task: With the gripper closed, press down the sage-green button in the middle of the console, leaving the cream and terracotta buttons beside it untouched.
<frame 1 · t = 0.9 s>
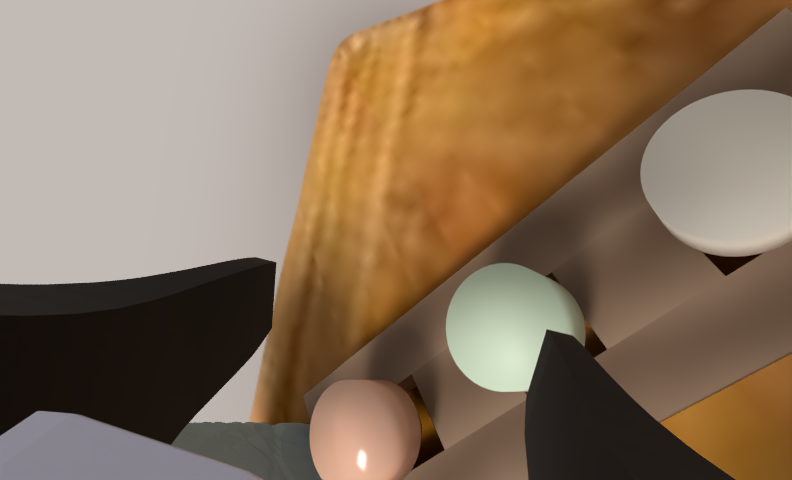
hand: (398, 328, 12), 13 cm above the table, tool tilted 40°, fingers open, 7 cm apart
console: (556, 337, 22), on the table
button cream: (732, 185, 16), point 4 cm above the table, slide at 0.0 cm
button terracotta: (376, 431, 22), point 4 cm above the table, slide at 0.0 cm
button sage: (523, 330, 19), point 4 cm above the table, slide at 0.0 cm
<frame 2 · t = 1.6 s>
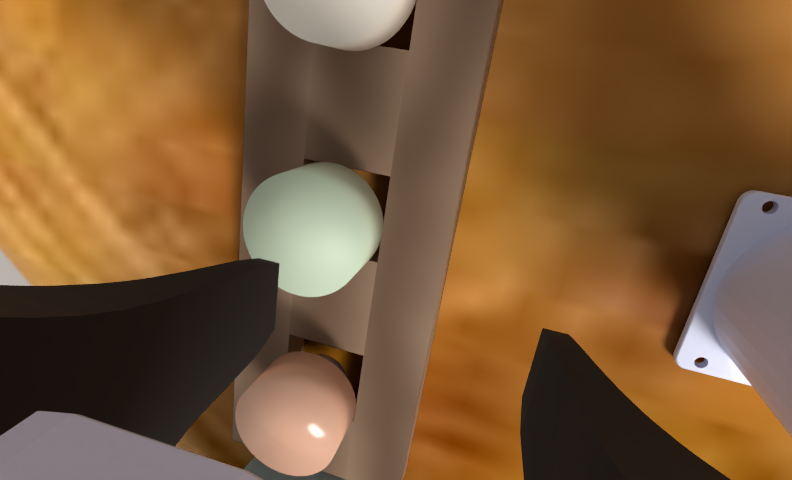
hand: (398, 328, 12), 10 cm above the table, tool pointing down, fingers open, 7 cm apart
console: (356, 201, 22), on the table
button terracotta: (306, 400, 22), point 4 cm above the table, slide at 0.0 cm
button sage: (324, 221, 19), point 4 cm above the table, slide at 0.0 cm
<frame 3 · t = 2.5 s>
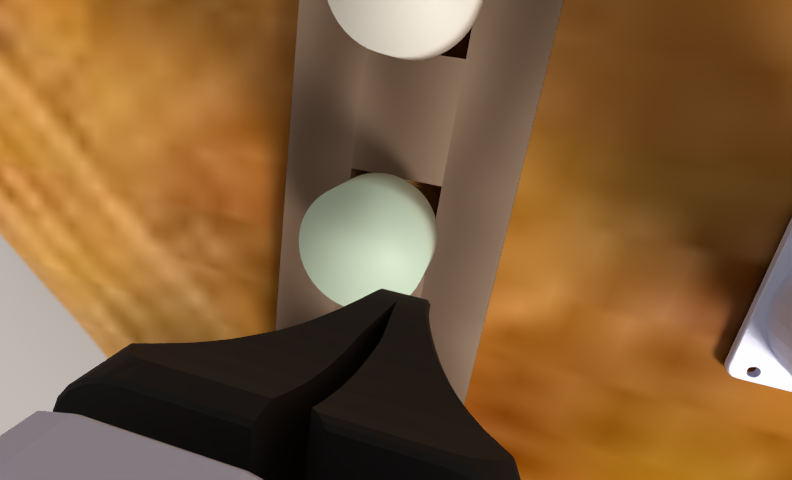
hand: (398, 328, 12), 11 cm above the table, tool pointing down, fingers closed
console: (399, 210, 22), on the table
button sage: (377, 233, 18), point 4 cm above the table, slide at 0.0 cm
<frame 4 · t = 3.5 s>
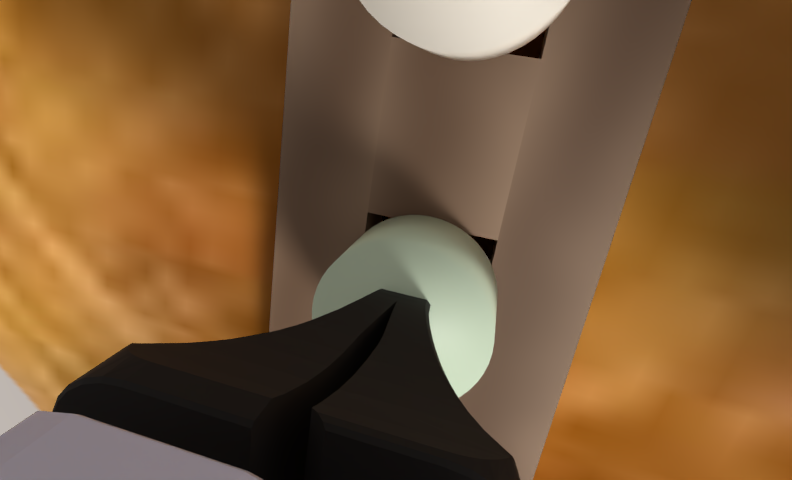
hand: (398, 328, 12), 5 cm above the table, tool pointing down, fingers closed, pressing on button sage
console: (430, 263, 16), on the table
button sage: (415, 295, 14), point 3 cm above the table, slide at -1.1 cm, touching gripper
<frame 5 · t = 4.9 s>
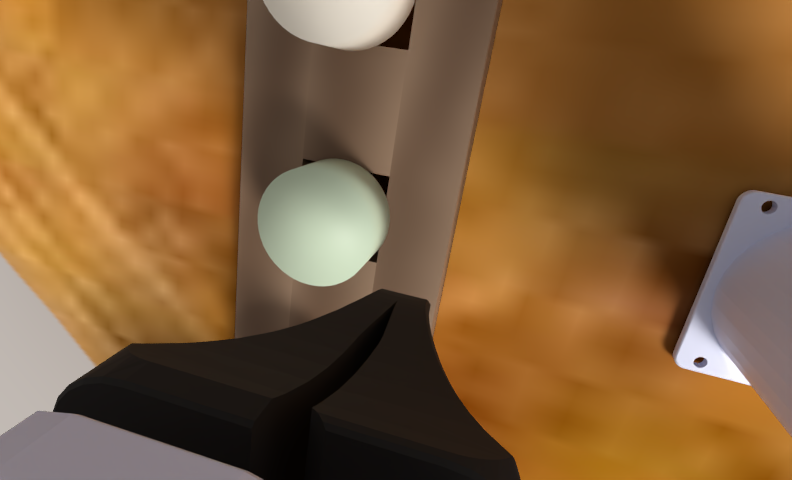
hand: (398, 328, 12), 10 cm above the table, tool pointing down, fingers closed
console: (355, 201, 22), on the table
button sage: (334, 215, 20), point 3 cm above the table, slide at -1.1 cm
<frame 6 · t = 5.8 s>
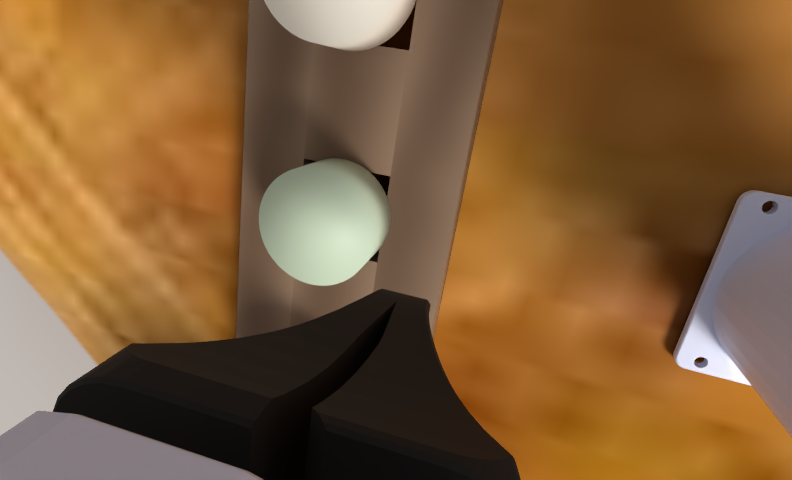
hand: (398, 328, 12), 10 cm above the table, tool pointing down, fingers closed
console: (356, 201, 22), on the table
button sage: (334, 215, 20), point 3 cm above the table, slide at -1.1 cm
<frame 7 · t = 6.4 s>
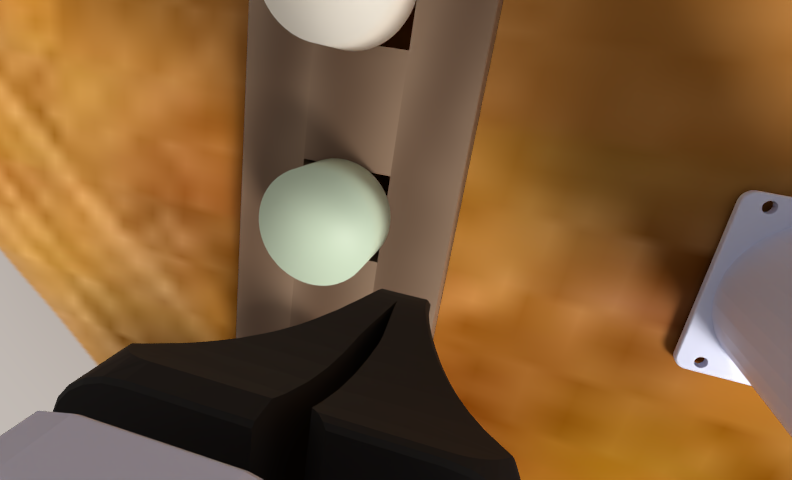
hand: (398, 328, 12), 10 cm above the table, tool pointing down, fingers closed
console: (356, 201, 22), on the table
button sage: (334, 215, 20), point 3 cm above the table, slide at -1.1 cm
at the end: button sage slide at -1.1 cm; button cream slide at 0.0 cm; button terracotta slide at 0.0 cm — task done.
